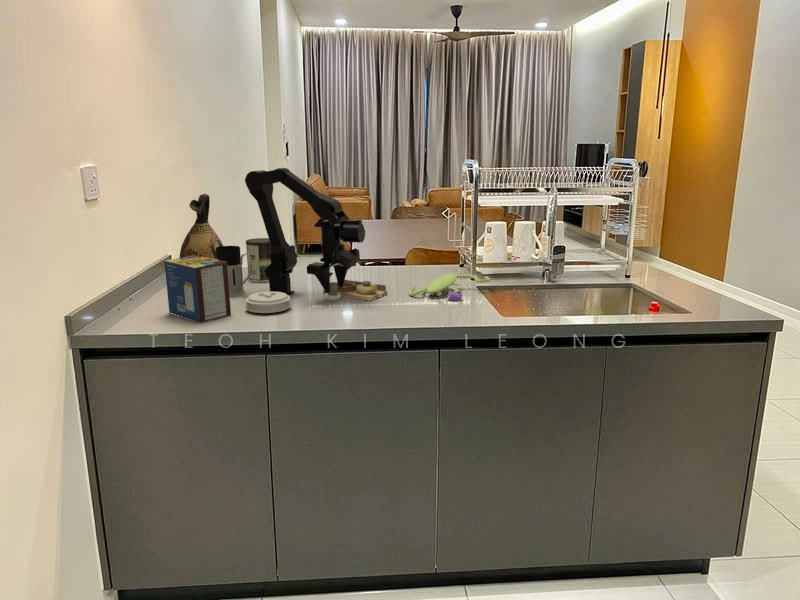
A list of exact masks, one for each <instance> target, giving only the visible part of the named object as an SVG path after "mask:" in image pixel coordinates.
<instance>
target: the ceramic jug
mask: <svg viewBox="0 0 800 600" xmlns="http://www.w3.org/2000/svg"><path fill="white" fill-rule="evenodd" d="M210 200H211V199H210V195H209V194H207V193H203V194H200V195H199V196H198V199H197V200H196V199H192V200H191V201H190V203H189V208H190V209H191V210H192V211H194V212H195V213H196V219H195V222H194V224H193V225H192V226H191V228H190V230H189V231H188V232H187V234H186V236H185V237H184V239H183V241H182V243H181V247H180V251H179V258H184V257H190V256H201V257H206V258H211V259H216V247H220V246H224V245H223V241H222V240H221V238H220V237H219V236H218V233H216V231H215V230H214V228H213V227H212V226H211V224H210V223H209V215H210V204H211V203H210Z"/></svg>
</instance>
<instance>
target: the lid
mask: <svg viewBox="0 0 800 600" xmlns="http://www.w3.org/2000/svg"><path fill="white" fill-rule="evenodd" d="M290 300H291V297H290V295H289V294H288V295H287V294H286V293H283V292H270V291H261V292H256V293H252V294H250V295H248V296H247V297H246V298H245V302H246V307H245V308H246V310H247V311H249V312H251V313H255V314H256V313H258V314H269V313H272V314H273V313H278V312H283V311H287V310H288V309H290V308H291V304H290Z"/></svg>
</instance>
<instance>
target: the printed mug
mask: <svg viewBox="0 0 800 600" xmlns="http://www.w3.org/2000/svg"><path fill="white" fill-rule="evenodd" d="M245 248H246V254H248V255H250V257H251V259H252V271H251V274H250V277H249V278H248V279H247V280H248V281H249V282H251V283H252V282H253V283H269V277H266V275H265V272H264V270H265V269H266V268H267V267H268V266H269V265H270V264H271V260H270V250H271V244H270V241H269V237H263V238H262V237H259V238H258V237H257V238H249V239H246V240H245ZM246 263H247V275H248V274H249V271H250V259H249V257H248V256H247V255H246Z"/></svg>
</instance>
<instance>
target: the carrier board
mask: <svg viewBox="0 0 800 600" xmlns="http://www.w3.org/2000/svg"><path fill="white" fill-rule="evenodd" d="M335 282H336V281H335ZM336 283H337V293H340V294H341V298H345V299H351V298H353V299H352V300H358V299H361V300H360V301H364V300H368V301H367V302H371V301H370V300H372V301H374V300H373V299H375V298H377V299H379V298H378V297H380V296H383V295H385V296H387V295H388V291H387V285H386V284H380V283H379V284H378V283H373V282H371V281H370V280H364V281H358V280H350V279H345V280H344V284H343V287H342V288H340V287H339V285H338V282H336ZM322 292H323V293H322V294H323V295H324V294H325V293H326V292H325V290H324V289H323V290H322ZM386 294H387V295H386ZM383 297H384V296H383ZM380 298H381V297H380ZM375 300H376V299H375Z"/></svg>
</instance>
